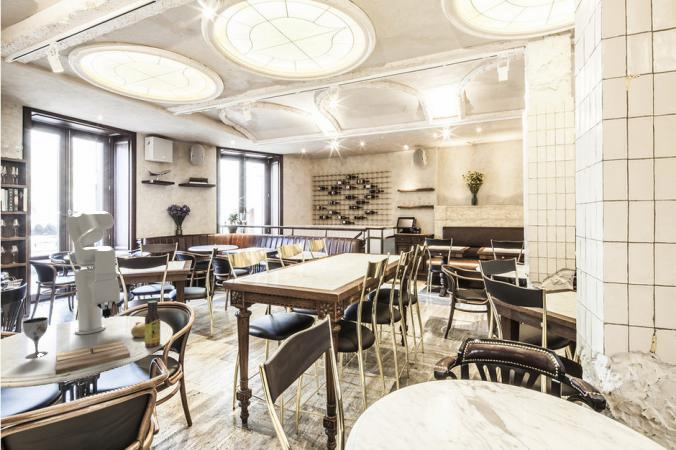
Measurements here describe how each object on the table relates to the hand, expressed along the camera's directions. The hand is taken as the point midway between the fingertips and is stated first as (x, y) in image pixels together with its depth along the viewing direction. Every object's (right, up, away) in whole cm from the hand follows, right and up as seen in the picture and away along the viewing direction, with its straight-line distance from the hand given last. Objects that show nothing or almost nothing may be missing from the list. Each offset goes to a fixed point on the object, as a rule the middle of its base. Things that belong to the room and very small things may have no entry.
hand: (106, 317), depth 151 cm
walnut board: (+4, -14, -13) cm, 20 cm away
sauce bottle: (+19, -14, +3) cm, 24 cm away
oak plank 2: (+2, -14, -1) cm, 14 cm away
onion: (+7, -13, +14) cm, 20 cm away
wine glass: (-24, -14, -8) cm, 29 cm away
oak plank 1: (-7, -14, -9) cm, 18 cm away
